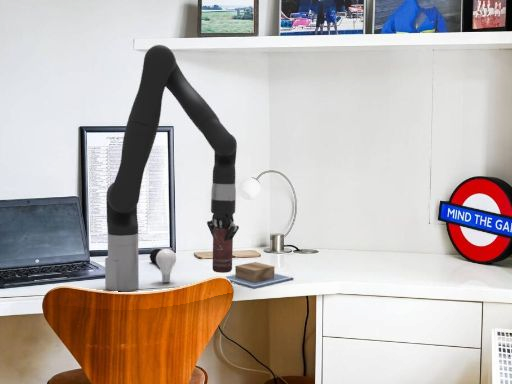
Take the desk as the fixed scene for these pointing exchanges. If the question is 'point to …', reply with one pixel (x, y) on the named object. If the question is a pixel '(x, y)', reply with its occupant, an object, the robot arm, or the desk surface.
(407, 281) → the desk surface
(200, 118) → the robot arm
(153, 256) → the microphone
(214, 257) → the maroon rounded block
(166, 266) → the lightbulb
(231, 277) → the board
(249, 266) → the plinth
